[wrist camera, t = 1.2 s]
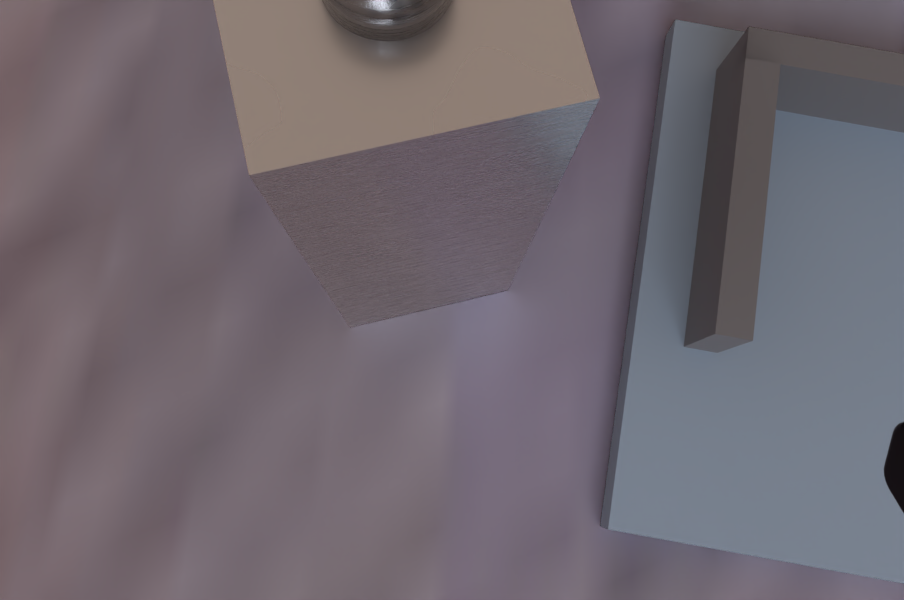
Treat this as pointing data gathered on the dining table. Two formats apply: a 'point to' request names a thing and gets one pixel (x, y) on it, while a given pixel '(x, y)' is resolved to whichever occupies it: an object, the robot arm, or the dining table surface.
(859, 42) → the dining table surface
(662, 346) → the coupler cradle
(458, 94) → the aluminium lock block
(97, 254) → the dining table surface
